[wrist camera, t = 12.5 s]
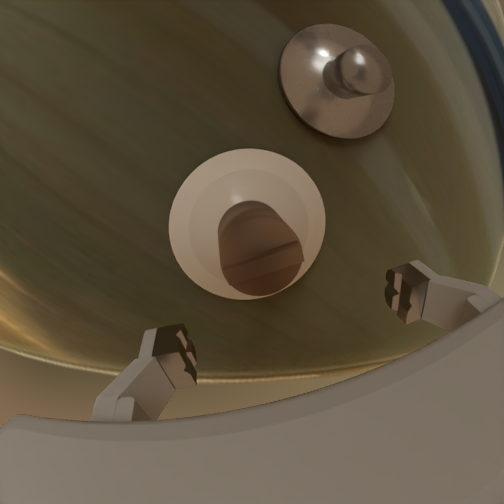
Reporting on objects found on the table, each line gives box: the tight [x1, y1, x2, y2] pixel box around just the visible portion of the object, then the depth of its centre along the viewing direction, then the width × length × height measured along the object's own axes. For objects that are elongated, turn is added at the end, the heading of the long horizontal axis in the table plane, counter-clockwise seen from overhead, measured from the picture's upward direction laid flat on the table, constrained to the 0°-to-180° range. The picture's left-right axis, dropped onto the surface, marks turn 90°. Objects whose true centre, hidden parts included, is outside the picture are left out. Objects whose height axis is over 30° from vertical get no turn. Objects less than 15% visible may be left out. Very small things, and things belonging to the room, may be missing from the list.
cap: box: [218, 200, 304, 296], centre depth 18 cm, size 5×5×6 cm
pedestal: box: [278, 24, 395, 139], centre depth 16 cm, size 10×10×5 cm
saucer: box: [169, 148, 326, 300], centre depth 21 cm, size 12×12×1 cm
